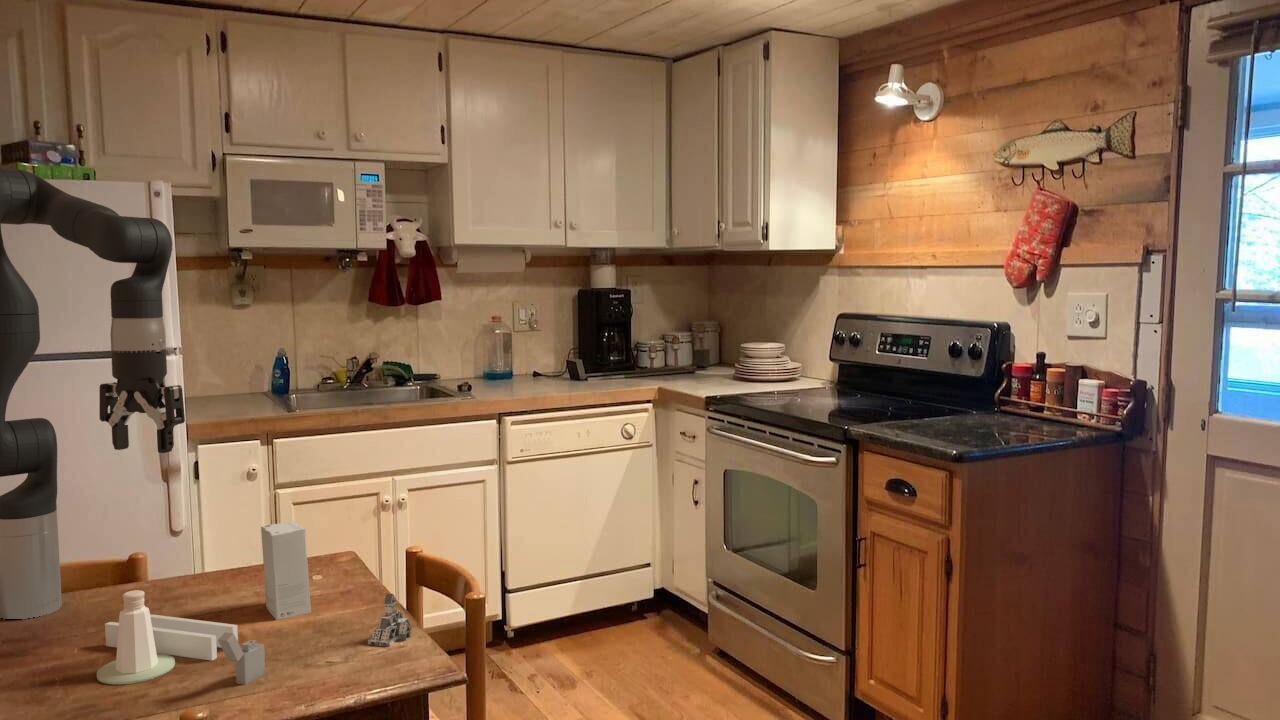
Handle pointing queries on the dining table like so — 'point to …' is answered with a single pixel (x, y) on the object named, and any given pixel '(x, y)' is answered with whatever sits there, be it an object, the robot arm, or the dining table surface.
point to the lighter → (244, 657)
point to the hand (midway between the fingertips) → (143, 450)
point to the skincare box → (285, 570)
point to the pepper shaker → (135, 636)
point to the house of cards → (390, 625)
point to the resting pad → (114, 677)
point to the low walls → (181, 636)
